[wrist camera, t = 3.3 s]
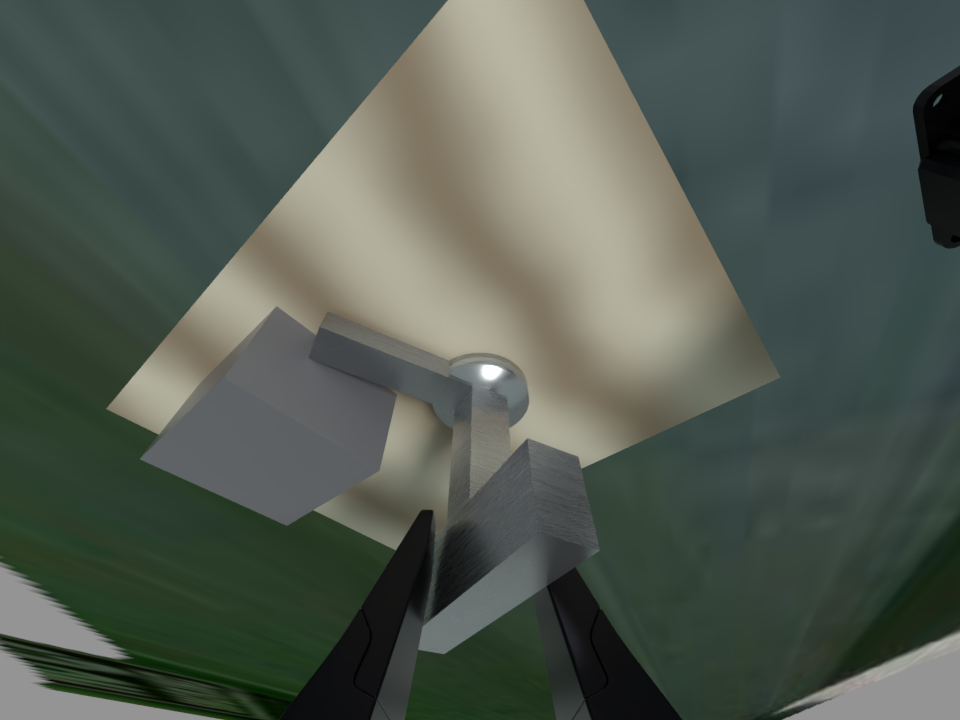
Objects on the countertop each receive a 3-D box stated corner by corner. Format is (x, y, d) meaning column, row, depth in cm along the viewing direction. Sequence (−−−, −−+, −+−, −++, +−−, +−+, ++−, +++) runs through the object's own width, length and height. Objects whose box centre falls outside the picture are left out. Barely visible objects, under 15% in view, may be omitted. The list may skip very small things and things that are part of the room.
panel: (523, -81, 10) (531, -100, 9) (756, 348, 19) (780, 377, 17) (134, 379, 20) (106, 408, 19) (403, 523, 29) (399, 552, 27)
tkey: (354, 236, 13) (227, 443, 7) (574, 340, 16) (641, 562, 9) (298, 394, 18) (190, 611, 11) (477, 455, 20) (476, 659, 14)
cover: (276, 306, 15) (223, 377, 12) (396, 394, 18) (379, 470, 15) (199, 383, 18) (139, 459, 14) (316, 450, 20) (286, 525, 17)
